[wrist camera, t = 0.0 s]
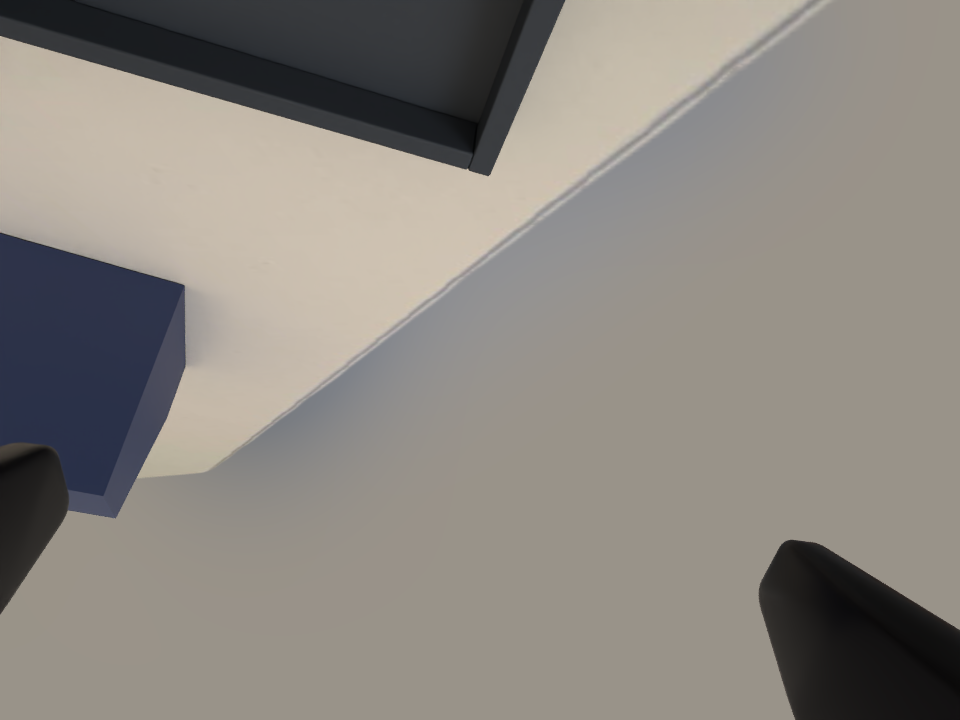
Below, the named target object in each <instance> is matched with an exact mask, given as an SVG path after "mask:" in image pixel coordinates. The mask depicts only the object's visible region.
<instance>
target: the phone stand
mask: <svg viewBox="0 0 960 720" xmlns="http://www.w3.org/2000/svg"><path fill="white" fill-rule="evenodd" d="M184 369H185V294H184V285H181V284H177V283H173V282H170V281H166V280H163V279H159V278H156V277H152V276H149V275H145V274H142V273H138V272H135V271H131V270H128V269H124V268H121V267H117V266H113V265H110V264H106V263H103V262H99V261H96V260H92V259H89V258H85V257H82V256H78V255H75V254H71V253H68V252H64V251H61V250H57V249H54V248H50V247H46V246H43V245H39V244H36V243H32V242H29V241H25V240H22V239H18V238H15V237H11V236H8V235H4V234H1V233H0V446H3V445H7V444H11V443H16V442H26V443H34V444H41V445H48V446H51V447H53V448H54V449H55V450H56V451H57V453H58V455H59V458H60V462H61V466H62V470H63V474H64V478H65V481H66V485H67V489H68V493H69V507H68V510H70V511H76V512H82V513H87V514H93V515H99V516H105V517H111V518H116V517H117V515H118V513H119V511H120V509H121V507H122V505H123V503H124V501H125V499H126V497H127V495H128V493H129V491H130V489H131V487H132V485H133V483H134V482H135V479H136V478H137V476H138V474H139V472H140V470H141V468H142V466H143V464H144V462H145V460H146V458H147V456H148V454H149V452H150V450H151V448H152V446H153V444H154V442H155V440H156V438H157V436H158V434H159V432H160V430H161V428H162V426H163V425H164V423H165V421H166V419H167V416H168V413H169V411H170V408H171V405H172V402H173V399H174V397H175V394H176V391H177V388H178V385H179V383H180V380H181V377H182V374H183V372H184Z"/></svg>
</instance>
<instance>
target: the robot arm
mask: <svg viewBox="0 0 960 720" xmlns="http://www.w3.org/2000/svg"><path fill="white" fill-rule="evenodd" d="M68 507H69V493H68V489H67V485H66V481H65V478H64V474H63V470H62V466H61V462H60V458H59V455H58V453H57V451H56V450H55V449H54V448H53V447H51V446H48V445H41V444H34V443H26V442H16V443H11V444H7V445H3V446H0V614H1V613H2V611H3V610H4V608H5V607H6V606H7V604H8V602H9V601H10V600H11V598H12V597H13V595H14V594H15V592H16V591H17V589H18V588H19V586H20V585H21V583H22V582H23V580H24V579H25V577H26V576H27V574H28V573H29V571H30V570H31V568H32V567H33V565H34V564H35V562H36V561H37V559H38V558H39V556H40V554H41V553H42V552H43V550H44V549H45V547H46V546H47V544H48V543H49V541H50V540H51V538H52V537H53V535H54V534H55V532H56V531H57V529H58V528H59V526H60V525H61V523H62V522H63V520H64V518H65V516H66V514H67V511H68ZM759 602H760V607H761V611H762V614H763V617H764V621H765V624H766V627H767V631H768V634H769V637H770V641H771V644H772V647H773V651H774V654H775V657H776V661H777V664H778V667H779V671H780V674H781V677H782V681H783V684H784V687H785V691H786V694H787V697H788V700H789V703H790V706H791V709H792V712H793V715H794V717H795V720H960V630H959V629H957V628H955V627H954V626H952V625H951V624H949V623H947V622H946V621H944V620H943V619H941V618H939V617H938V616H936V615H934V614H933V613H931V612H929V611H928V610H926V609H925V608H923V607H921V606H920V605H918V604H917V603H915V602H913V601H912V600H910V599H908V598H907V597H905V596H904V595H902V594H900V593H899V592H897V591H895V590H894V589H892V588H891V587H889V586H887V585H886V584H884V583H882V582H881V581H879V580H878V579H876V578H874V577H873V576H871V575H869V574H868V573H866V572H864V571H863V570H861V569H860V568H858V567H856V566H855V565H853V564H852V563H850V562H848V561H846V560H845V559H843V558H842V557H840V556H839V555H837V554H835V553H834V552H832V551H830V550H829V549H827V548H825V547H824V546H822V545H820V544H817V543H813V542H805V541H797V540H788V541H785V542H784V543H783V544H782V545H781V546H780V547H779V549H778V551H777V553H776V555H775V557H774V559H773V560H772V562H771V564H770V566H769V568H768V570H767V571H766V573H765V575H764V577H763V579H762V581H761V583H760V588H759Z"/></svg>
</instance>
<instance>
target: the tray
mask: <svg viewBox="0 0 960 720" xmlns="http://www.w3.org/2000/svg"><path fill="white" fill-rule="evenodd" d="M564 2H565V0H0V36H2V37H6V38H9V39H13V40H16V41H20V42H23V43H27V44H30V45H34V46H37V47H41V48H44V49H48V50H51V51H55V52H58V53H62V54H65V55H69V56H72V57H76V58H79V59H83V60H86V61H90V62H93V63H97V64H100V65H103V66H107V67H110V68H114V69H117V70H121V71H124V72H128V73H131V74H135V75H138V76H142V77H145V78H149V79H152V80H156V81H159V82H163V83H166V84H170V85H173V86H177V87H180V88H184V89H187V90H191V91H194V92H198V93H201V94H205V95H208V96H211V97H215V98H218V99H222V100H225V101H229V102H232V103H236V104H239V105H243V106H246V107H250V108H253V109H257V110H260V111H264V112H267V113H271V114H274V115H278V116H281V117H285V118H288V119H292V120H295V121H299V122H302V123H306V124H309V125H313V126H316V127H319V128H323V129H326V130H330V131H333V132H337V133H340V134H344V135H347V136H351V137H354V138H358V139H361V140H365V141H368V142H372V143H375V144H379V145H382V146H386V147H389V148H393V149H396V150H400V151H403V152H407V153H410V154H414V155H417V156H420V157H424V158H427V159H431V160H434V161H438V162H441V163H445V164H448V165H452V166H455V167H459V168H462V169H469V171H472V172H476V173H479V174H483V175H486V176H489V175H490V174H491V171H492V169H493V167H494V165H495V162H496V160H497V158H498V155H499V153H500V151H501V148H502V146H503V144H504V141H505V139H506V137H507V134H508V132H509V130H510V127H511V125H512V123H513V120H514V118H515V116H516V113H517V111H518V109H519V106H520V104H521V102H522V99H523V97H524V95H525V92H526V90H527V88H528V86H529V83H530V81H531V79H532V76H533V74H534V72H535V69H536V67H537V65H538V62H539V60H540V58H541V55H542V53H543V51H544V48H545V46H546V44H547V41H548V39H549V37H550V34H551V32H552V30H553V27H554V25H555V23H556V20H557V18H558V16H559V14H560V11H561V9H562V7H563V4H564Z"/></svg>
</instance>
